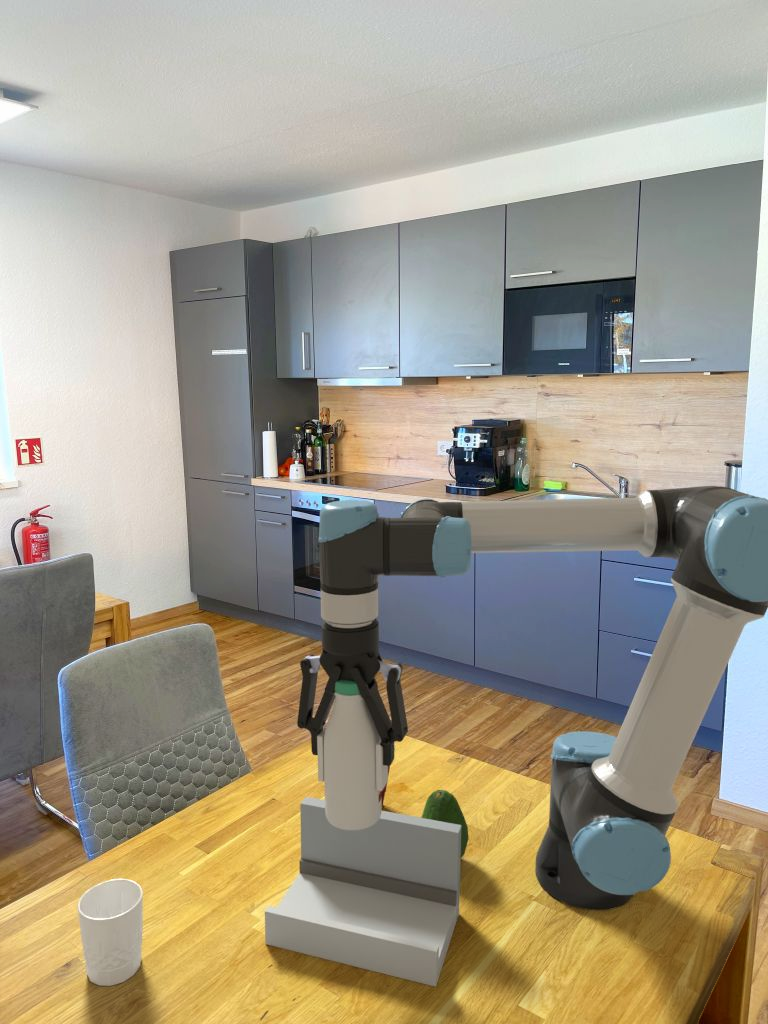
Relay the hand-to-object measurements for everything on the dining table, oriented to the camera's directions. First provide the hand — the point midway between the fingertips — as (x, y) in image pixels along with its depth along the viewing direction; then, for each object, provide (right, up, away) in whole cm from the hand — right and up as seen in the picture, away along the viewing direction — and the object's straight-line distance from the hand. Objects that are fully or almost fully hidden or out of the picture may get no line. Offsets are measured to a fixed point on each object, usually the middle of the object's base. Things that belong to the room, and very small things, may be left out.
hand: (353, 780), depth 102 cm
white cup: (-31, -23, -3) cm, 39 cm away
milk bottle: (0, -5, +1) cm, 5 cm away
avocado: (+14, -20, +19) cm, 31 cm away
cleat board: (+2, -22, +4) cm, 23 cm away
